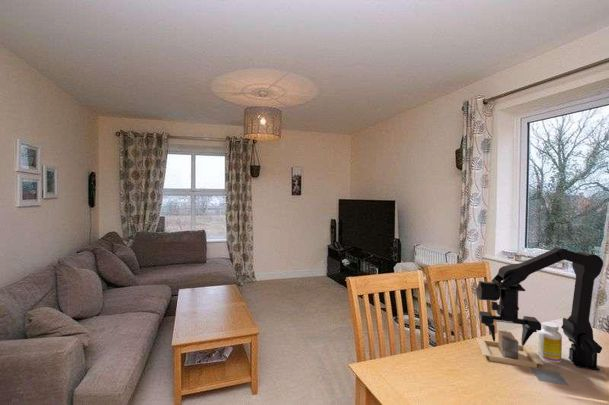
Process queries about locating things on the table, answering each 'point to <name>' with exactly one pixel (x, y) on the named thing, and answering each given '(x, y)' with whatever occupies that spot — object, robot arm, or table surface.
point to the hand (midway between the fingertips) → (508, 343)
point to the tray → (524, 358)
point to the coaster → (549, 376)
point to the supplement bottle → (550, 343)
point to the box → (508, 345)
